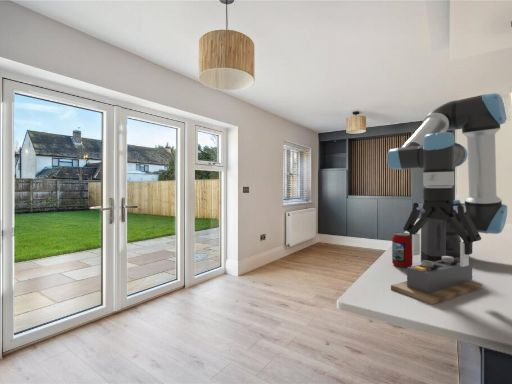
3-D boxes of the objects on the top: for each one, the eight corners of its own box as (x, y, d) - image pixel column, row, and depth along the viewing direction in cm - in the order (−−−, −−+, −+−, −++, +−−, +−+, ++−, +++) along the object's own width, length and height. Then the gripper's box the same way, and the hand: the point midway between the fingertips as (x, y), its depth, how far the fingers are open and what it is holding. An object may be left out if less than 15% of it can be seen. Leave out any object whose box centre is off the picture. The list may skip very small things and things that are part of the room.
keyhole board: (439, 276, 93) (439, 250, 93) (482, 288, 82) (482, 259, 82) (390, 289, 82) (390, 260, 82) (433, 304, 71) (433, 271, 71)
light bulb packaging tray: (450, 274, 91) (450, 256, 91) (472, 280, 85) (472, 260, 85) (407, 286, 80) (407, 265, 80) (428, 293, 75) (428, 271, 75)
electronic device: (447, 270, 100) (448, 213, 99) (428, 269, 101) (429, 213, 100) (436, 263, 109) (436, 211, 108) (419, 262, 110) (419, 211, 109)
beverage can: (388, 263, 109) (388, 232, 109) (405, 262, 109) (405, 232, 109) (398, 268, 102) (398, 235, 102) (416, 267, 103) (416, 235, 102)
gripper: (391, 187, 91) (391, 252, 92) (482, 187, 69) (481, 274, 70) (406, 186, 94) (406, 249, 95) (497, 187, 72) (496, 268, 73)
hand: (438, 260), depth 82 cm, fingers open, 13 cm apart
